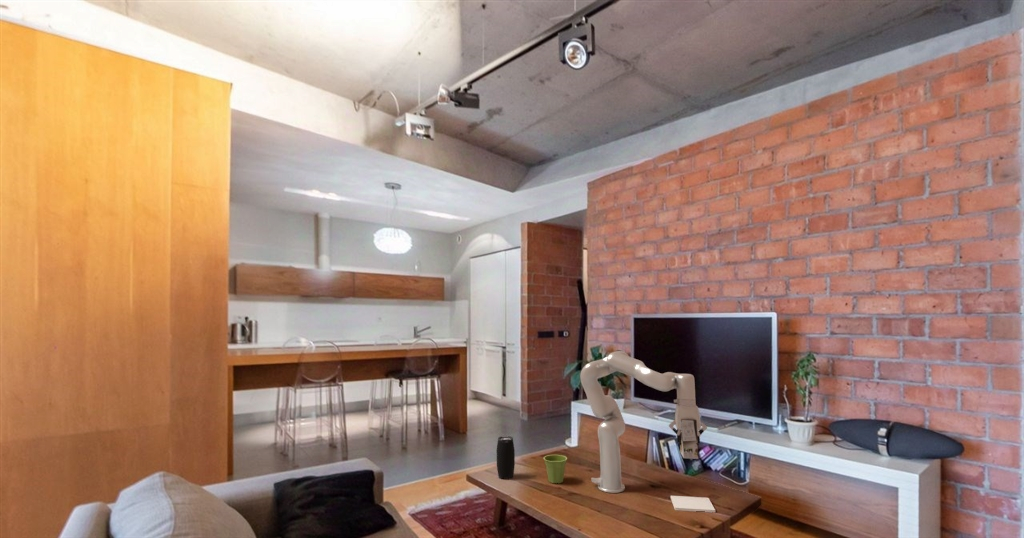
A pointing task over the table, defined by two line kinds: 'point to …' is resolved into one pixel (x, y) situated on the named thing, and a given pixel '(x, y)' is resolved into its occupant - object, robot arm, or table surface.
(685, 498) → the rest mat
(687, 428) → the coffee box
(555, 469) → the plant pot
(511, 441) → the portable speaker
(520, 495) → the table surface
